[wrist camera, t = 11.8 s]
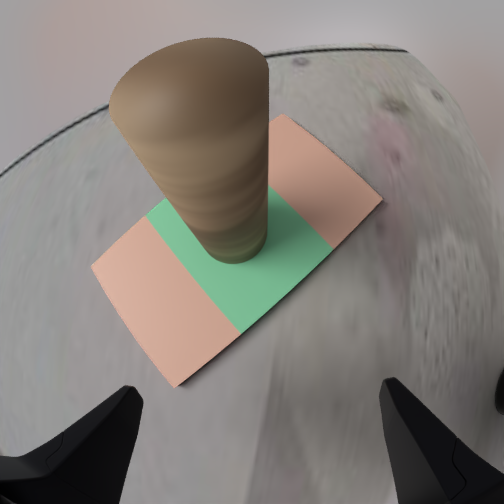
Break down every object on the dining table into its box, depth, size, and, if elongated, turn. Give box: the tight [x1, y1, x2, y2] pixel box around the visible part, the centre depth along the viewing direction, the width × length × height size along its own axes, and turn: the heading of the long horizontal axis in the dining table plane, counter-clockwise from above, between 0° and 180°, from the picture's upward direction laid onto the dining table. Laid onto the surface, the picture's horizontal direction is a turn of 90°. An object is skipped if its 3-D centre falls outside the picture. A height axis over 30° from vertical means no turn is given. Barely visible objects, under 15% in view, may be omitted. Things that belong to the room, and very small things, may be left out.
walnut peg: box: [109, 38, 269, 264], centre depth 13 cm, size 5×5×14 cm
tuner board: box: [91, 114, 383, 388], centre depth 21 cm, size 22×12×1 cm, turn 132°
